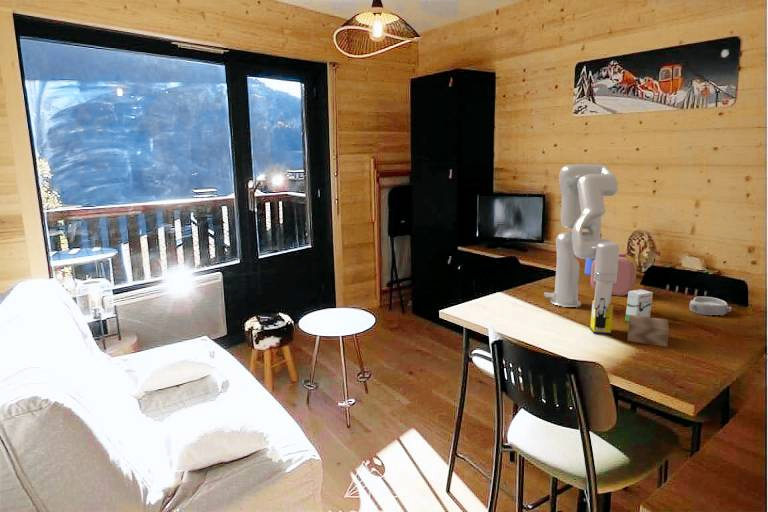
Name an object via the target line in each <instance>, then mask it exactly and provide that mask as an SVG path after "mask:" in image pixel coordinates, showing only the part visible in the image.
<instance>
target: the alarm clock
mask: <svg viewBox="0 0 768 512" xmlns="http://www.w3.org/2000/svg"><path fill="white" fill-rule="evenodd" d="M594 267H595V260H594V261H593V263H592V267H591V276H590V280H589V281H590V286H591V288H592V289H593V290H594V291H595V287H596V281H594V280H593V279H594ZM637 273H638V266H637V261H636V260H635V257H632V256H631V255H628V254H627V253H626V252H620V251H619V260H618V270H617V280H616V283H612V292H611V296H619V297H623V296H625V297H626V296H628V292H629V291H633V289H634V287H635V285H636V282H637V281H636V280H637Z"/></svg>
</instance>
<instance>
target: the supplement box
mask: <svg viewBox="0 0 768 512" xmlns="http://www.w3.org/2000/svg"><path fill="white" fill-rule="evenodd" d="M604 302H605V301H604ZM591 303H592V304H591V315H590V325H589V326H590V327H589V328H590V330H591V332H592V333H593V334H594V335H595V334H597V335H609V336H610V335H611V333H612V322H613V312H614V305H613V303H611V302H610V304H609V308H608V310H606V314H605V317H606V323H605V328H598V327H595V323H596V316H597V308H598V307H597V308H595V309H594V308H593V307H594V300H592V302H591ZM599 308H600V306H599ZM603 308H604V307H603ZM604 309H605V308H604Z"/></svg>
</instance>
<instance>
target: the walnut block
mask: <svg viewBox="0 0 768 512" xmlns="http://www.w3.org/2000/svg"><path fill="white" fill-rule="evenodd" d="M627 328H628V329H627V339H626V341H627V342H632V343H639V344H644V345H645V344H647V345H654V346H659V347H665V348H668V342H669V334H670V328H669V321H668V319H666V318H657V317H651V316H650V317H643V316H635V315H630V316H629V322H628V327H627Z"/></svg>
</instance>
